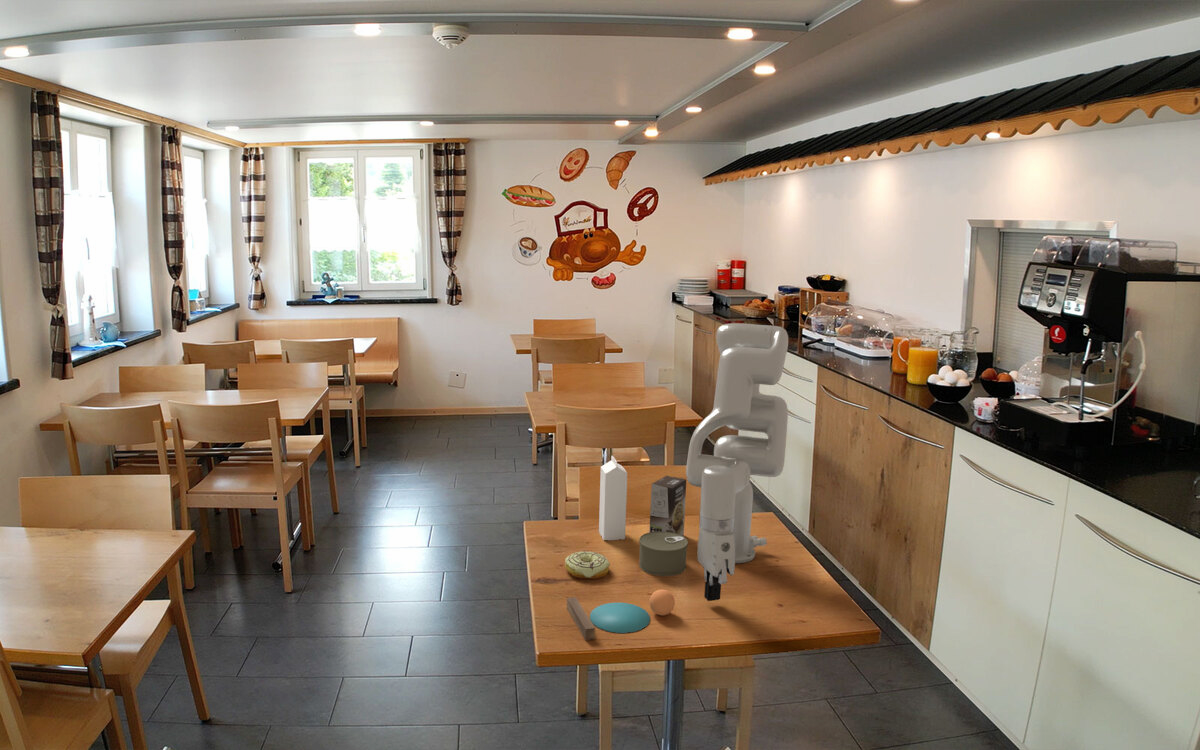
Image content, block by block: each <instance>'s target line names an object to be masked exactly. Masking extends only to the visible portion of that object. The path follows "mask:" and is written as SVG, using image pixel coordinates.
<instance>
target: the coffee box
mask: <svg viewBox="0 0 1200 750" xmlns="http://www.w3.org/2000/svg"><path fill="white" fill-rule="evenodd" d="M650 493H651V494H650V512H649V531H648V533H649V532H655V531H666V532H672V533H676V534H679V535H681V536H683V537H684V535H685V534H684V533H685V514H686V494H687V478H686V479H685V478H682V477H676V476H669V475H665V476H663V477H662V478H660V479H657V480H656V481H654V482H652V483H651V492H650Z"/></svg>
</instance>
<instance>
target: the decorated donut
mask: <svg viewBox="0 0 1200 750" xmlns="http://www.w3.org/2000/svg"><path fill="white" fill-rule="evenodd" d="M564 560H565V562H564V566H565V568H566V571H567V572H568V573H569V574H570V575H571V576H572V577H575V578H578V579H589V580H590V579H591V580H594V579H600V578H603V577H605V576H607V574H608V572H609V570H610V569H609V567H610V566H611V564H610V561H609V560H608V558H607V557H606V556H605V555H602V554H601V553H598V552H595V551H576V552H574V553H573V552H572V553H571V554H570V555H568V556H567V557H565V559H564Z"/></svg>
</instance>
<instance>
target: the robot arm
mask: <svg viewBox="0 0 1200 750" xmlns="http://www.w3.org/2000/svg"><path fill="white" fill-rule="evenodd" d="M715 336H716V345H717V349H718V351H719V355H720V356H719V359H718V368H717V373H716V374H717V376H716V385H715V391H714V399H713V406H712V407H713V408H712V411H711V412H710V413H709V414H708V415H707V416H706V417H705V418H704V419H702V421H700V423H699V424H698V425H697V426H696V427H695V429H694V431H693V433H692V435H691V438H690V440H689V445H688V452H687V461H686V468H685V470H686V471H685V474H686V475H685V476H686V481H687V483H689V484H690V485H691V486H693V487H697V488H700V489H701V490H700V505H699V525H698V528H699V532H698V539H697V549H696V550H697V561H698V562H699V564H700V565H701V566H702V567H703V574H704V575H703V576H704V578H703V579H704V595H703V596H704V599H705V600H706V601H707V602H712V601H719V600H720V599H721V594H722V593H721V591H722V590H721V589H722V585H723V584H727V583H728V574H729V575H730V576H734V575H735V568H736V567H735V565H736V564H743V563H747V562H750V561H752V560H754V558H755V556H756V550H755V549H754V548H756V547H758V546H759V547H761V546H762V547H764V546H767V544H768V542H767V538H766V537H759V538H758V536H757V535H751V532H752V531H751V530H752V529H751V528H752V513H753V512H752V511H753V501H754V500H753V499H754V490H753V486H752V484H751V481H750V479H751V476H756V477H758V476H759V477H765V478H766V477H767V478H777V477H779V476H780V475H781V474H782V472H783V471H784V467H785V458H786V444H787V433H788V418H789V417H788V416H789V415H788V414H789V411H788V406H787V405H788V404H787V402H786V400H785V399H784V398H782V397H781V396H778V395H777V396H776V395H772V394H770V395H769V394H761V393H760V385H765V386H766V385H767V386H775V385H777V384H778V383H779V382H780V380H781V377H782V374H783V371H784V368H785V367H784V366H785V362H786V356H787V353H788V348H789V334H788V332H787V330H786V329H785V328H783V327H782V326H777V325H768V324H767V325H766V324H756V323H755V324H754V323H753V324H752V323H739V322H736V323H733V322H732V323H725V324H722V325H721V326H719V327H718V328H717V330H716V335H715ZM725 426H726V427H727V428H729V429H730V430H731V429H732V430H737V431H742V432H743V431H745V432H752V433H764V434H765V435H766V436H767V438H766V437H765V438H763V437H757V436H756V437H754V436H747V435H746V436H745V435H737V434H736V435H735V434H729V435H723V436H721V437H719V438H718V439H717V440H716V442H715V444H714V448H713V455H711V454H702V449H703V446H704V445H703V444H704V443H705V440H706V439H707V438H708V436H709V435H710V434H712V432H714V431H716V430H718V429H719V428H721V427H725Z"/></svg>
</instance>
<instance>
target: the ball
mask: <svg viewBox="0 0 1200 750" xmlns="http://www.w3.org/2000/svg"><path fill="white" fill-rule="evenodd" d="M675 601H676V600H675V598H674V596H673V594H672V593H671V592H670V591H669V590H667V589H657V590H655V591H653V593H652V594H651V595H650V597H649V606H650V609H651V611H652V612H653V613H654V614H656V615H658V616H667V615H669V614H670V613H671V612H672V611H673V610H674V608H675V603H676V602H675Z"/></svg>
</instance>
